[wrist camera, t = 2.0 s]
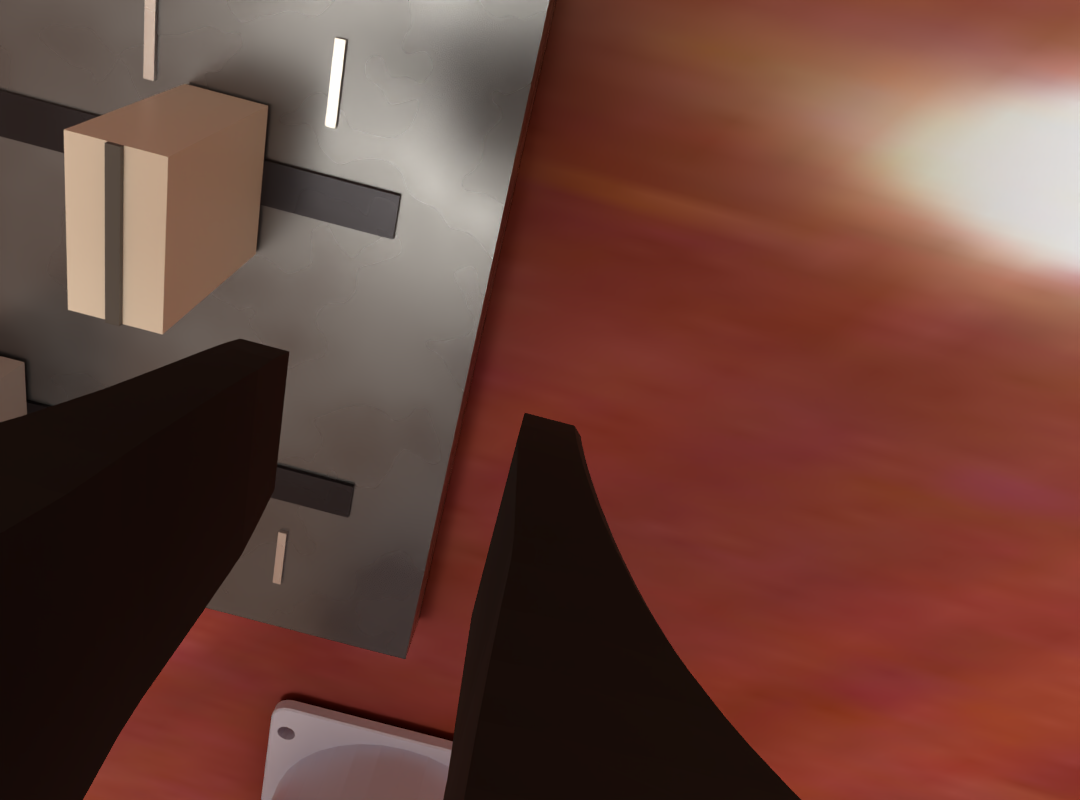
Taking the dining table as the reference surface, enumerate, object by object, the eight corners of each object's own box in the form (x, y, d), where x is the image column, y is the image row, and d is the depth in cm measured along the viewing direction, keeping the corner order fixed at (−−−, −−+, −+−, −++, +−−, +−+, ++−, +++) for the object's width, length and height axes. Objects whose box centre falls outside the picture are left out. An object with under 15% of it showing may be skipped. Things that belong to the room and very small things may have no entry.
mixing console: (418, 619, 25) (404, 662, 24) (-340, 423, 25) (-401, 454, 23) (570, -66, 17) (562, -63, 15) (-563, -367, 17) (-677, -393, 15)
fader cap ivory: (255, 254, 19) (159, 337, 15) (178, 233, 19) (64, 312, 15) (268, 105, 17) (165, 158, 14) (185, 83, 17) (59, 131, 14)
